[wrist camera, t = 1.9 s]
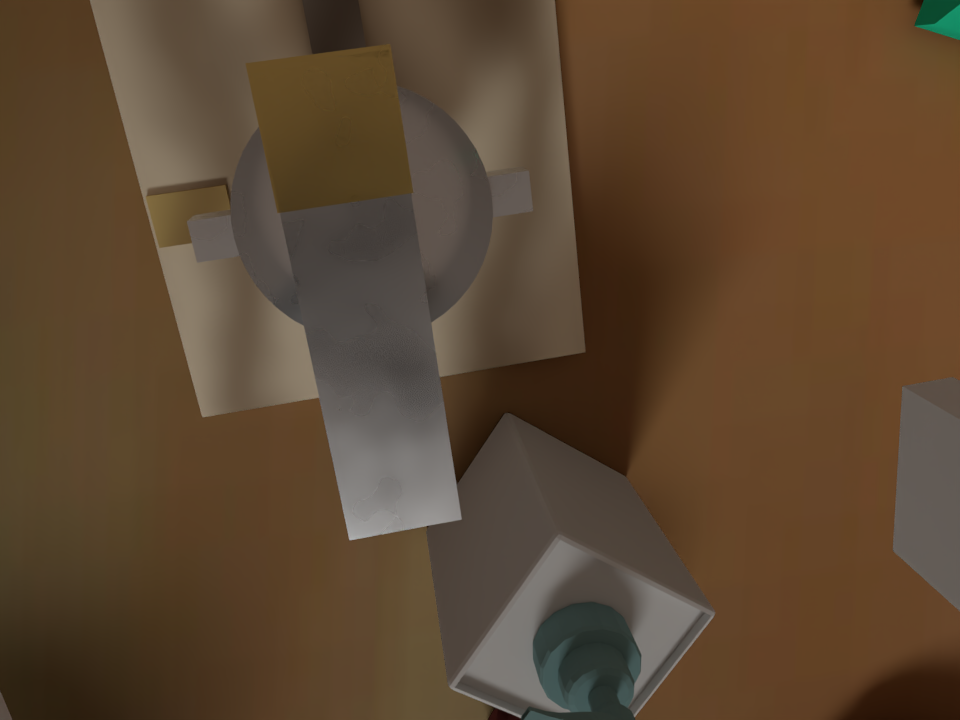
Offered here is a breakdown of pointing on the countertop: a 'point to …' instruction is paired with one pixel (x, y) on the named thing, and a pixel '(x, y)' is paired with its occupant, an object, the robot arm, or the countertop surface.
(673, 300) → the countertop surface
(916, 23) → the camera mount
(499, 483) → the soap bottle
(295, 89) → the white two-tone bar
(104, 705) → the countertop surface
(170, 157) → the board
